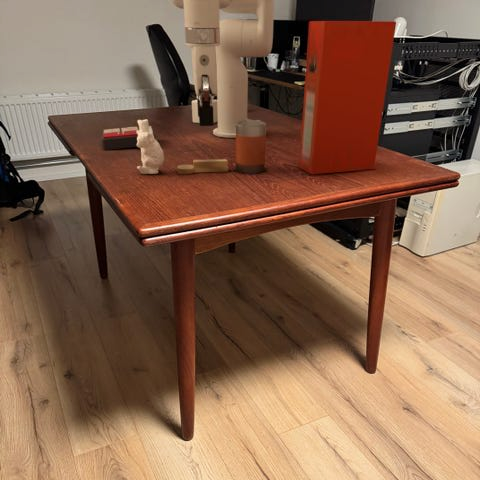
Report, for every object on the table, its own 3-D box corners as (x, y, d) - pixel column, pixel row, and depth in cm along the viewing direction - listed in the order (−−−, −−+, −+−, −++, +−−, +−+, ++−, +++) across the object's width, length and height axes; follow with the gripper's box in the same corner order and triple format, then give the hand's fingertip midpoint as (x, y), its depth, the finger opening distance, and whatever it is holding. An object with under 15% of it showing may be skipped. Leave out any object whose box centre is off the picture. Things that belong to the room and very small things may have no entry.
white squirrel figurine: (132, 169, 120) (127, 118, 113) (158, 166, 122) (154, 116, 116) (141, 178, 113) (135, 125, 107) (168, 175, 116) (164, 123, 109)
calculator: (102, 128, 143) (152, 124, 145) (104, 143, 145) (154, 138, 148) (101, 136, 134) (154, 131, 136) (104, 152, 136) (156, 147, 139)
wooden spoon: (226, 168, 121) (226, 157, 120) (228, 173, 118) (228, 162, 116) (177, 169, 120) (176, 158, 119) (177, 174, 117) (176, 163, 115)
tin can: (256, 164, 124) (257, 118, 118) (269, 171, 119) (271, 124, 113) (230, 168, 122) (230, 121, 115) (243, 175, 116) (244, 127, 110)
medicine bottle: (219, 121, 172) (219, 84, 166) (208, 124, 167) (207, 87, 160) (203, 119, 175) (202, 83, 169) (192, 122, 170) (190, 85, 164)
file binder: (298, 166, 123) (309, 20, 106) (357, 161, 128) (377, 20, 110) (312, 175, 117) (325, 21, 99) (373, 169, 121) (397, 21, 104)
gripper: (223, 40, 97) (224, 129, 106) (217, 34, 111) (218, 113, 121) (186, 40, 96) (190, 129, 106) (184, 35, 110) (188, 114, 120)
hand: (205, 121), depth 113 cm, fingers open, 9 cm apart
